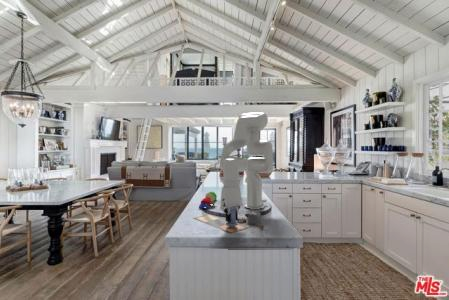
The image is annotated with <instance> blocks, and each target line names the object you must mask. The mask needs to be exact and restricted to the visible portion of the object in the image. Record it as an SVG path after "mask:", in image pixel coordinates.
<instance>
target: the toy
mask: <svg viewBox="0 0 449 300" xmlns="http://www.w3.org/2000/svg"><path fill="white" fill-rule="evenodd" d="M216 202H218V200H217V193H215V191H208V192H206V193H205V196H204V198H202V199H201V201H200V204H199V205H198V209H200V210H201V209H202V210H203V208H204V207H211V206H210V204H213V205H214V206H215V204H216Z"/></svg>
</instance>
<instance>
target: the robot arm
mask: <svg viewBox="0 0 449 300" xmlns="http://www.w3.org/2000/svg"><path fill="white" fill-rule="evenodd" d="M268 120H269V118H268V115H267V114H266V113H265V112H247V113H242V114H239V116H238V119H237V120H236V125H235V129H234V133H233V139H232V140H230V141H229V142H228V143H227V144H226V145H225V146H224V148H223V149H222V152H221V155H220V159H219V167H220V170H222V171H223V186H222V187H221V192H220V207H219V210H221V211H222V212H224V214H225V220H226V221H227V222H231V214H230V208H231V207H233V206H236V221H238V220H239V219H238V217H239V216H238V215H239V214H238V213H239V212H240V211H239V210H240V208H242V206H243V203H242V192H241V187H240V183H241V181H240V180H239V179H240V176H239V175H240V173H243V172H245V174H246V175H245V176H246V203H245V204H244V208H245V207H246V208H245V209H247V208H250V209H249V210H261V209H260V208H262V209H265V205H264V203H267V202H268V201H267V199H263V184H262V183H263V181H262V177H261V176H260V174H271V173H272V172H273V170H274V155H273V154H274V153H273V152H274V151H273V144H272V142H271V141H270V140H265V139H262V140H261V139H260V138H261V137H260V136H261V135H260V132H261V131H262V130H264V129H265V128H266V127H267V125H268ZM243 147H246V152H247V155H249V156H252V157H248V158H245V157H243V156H230V155H231V154H232V153H234V151H237V150H239V149H241V148H243ZM253 156H255V157H253ZM256 156H257V157H256ZM260 156H262V157H260ZM227 209H228V210H227Z"/></svg>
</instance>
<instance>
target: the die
mask: <svg viewBox="0 0 449 300" xmlns="http://www.w3.org/2000/svg"><path fill="white" fill-rule="evenodd" d="M261 220H262V213H261V212H260V211H259V212H257V211H250V212H249V213H247V224H250V225H251V224H252V225H256V224H257V225H259V224H260V223H261V222H262V221H261Z"/></svg>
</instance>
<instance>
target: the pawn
mask: <svg viewBox="0 0 449 300" xmlns="http://www.w3.org/2000/svg"><path fill="white" fill-rule="evenodd" d="M227 211H228V209H227ZM230 214H231V222H226V225H227V226H237V224H238V221H237V220H236V206H233V207H231V208H230Z"/></svg>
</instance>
